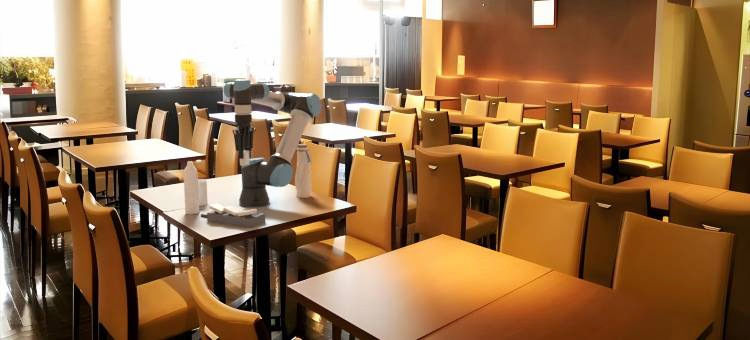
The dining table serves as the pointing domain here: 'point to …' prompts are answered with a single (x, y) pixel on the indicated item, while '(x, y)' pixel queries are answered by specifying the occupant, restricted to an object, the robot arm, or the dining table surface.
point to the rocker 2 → (232, 210)
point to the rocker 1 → (217, 208)
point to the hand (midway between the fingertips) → (244, 164)
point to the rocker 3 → (247, 212)
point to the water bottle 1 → (191, 188)
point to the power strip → (236, 219)
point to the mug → (202, 192)
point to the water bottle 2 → (303, 172)
